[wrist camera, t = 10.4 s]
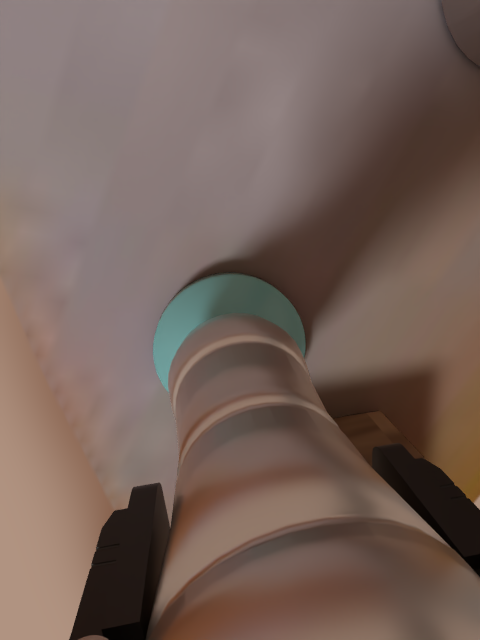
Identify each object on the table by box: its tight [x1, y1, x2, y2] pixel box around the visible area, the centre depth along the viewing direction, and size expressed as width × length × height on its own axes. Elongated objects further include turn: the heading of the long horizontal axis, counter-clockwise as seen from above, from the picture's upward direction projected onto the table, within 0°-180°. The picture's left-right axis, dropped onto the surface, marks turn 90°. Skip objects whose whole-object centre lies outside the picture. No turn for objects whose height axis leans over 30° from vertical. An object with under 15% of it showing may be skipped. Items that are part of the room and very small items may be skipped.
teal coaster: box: [153, 272, 306, 393], centre depth 21 cm, size 9×9×1 cm
